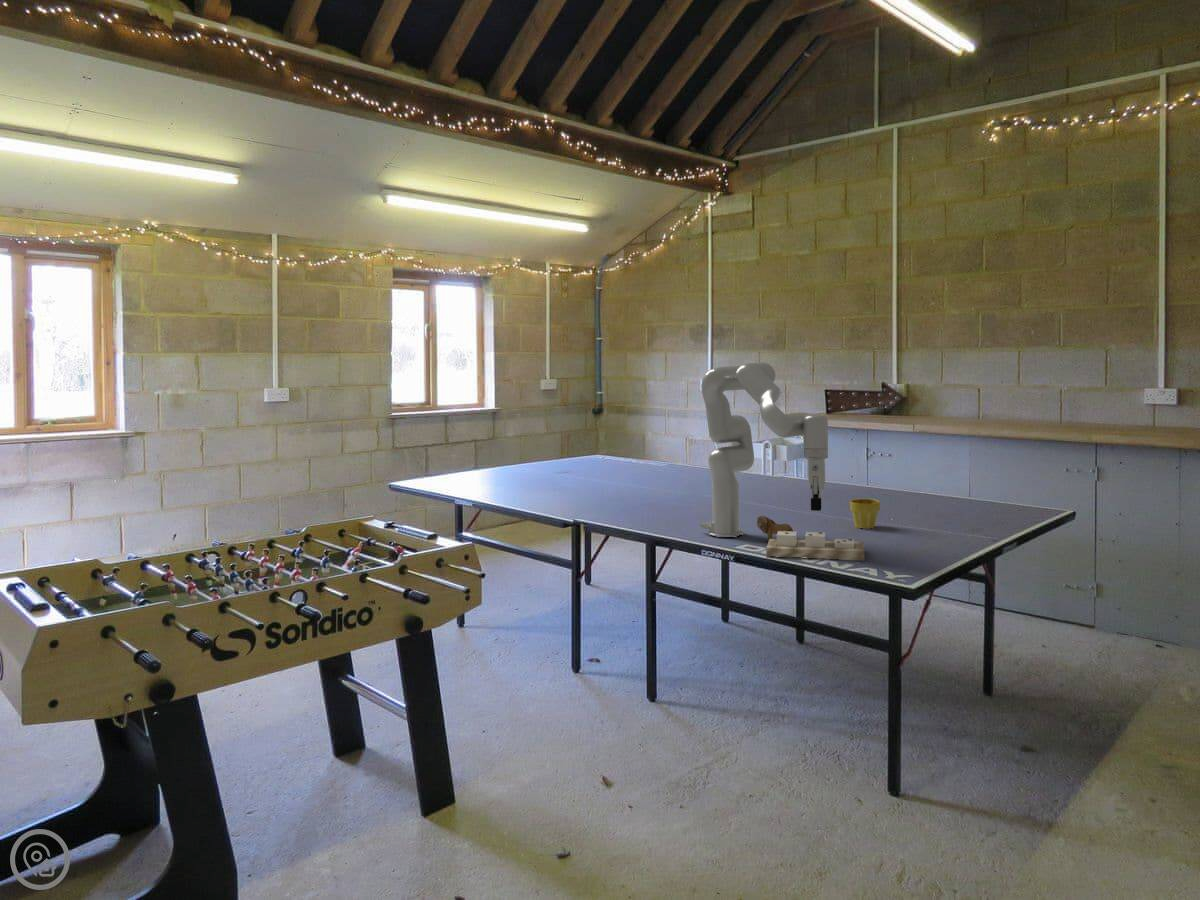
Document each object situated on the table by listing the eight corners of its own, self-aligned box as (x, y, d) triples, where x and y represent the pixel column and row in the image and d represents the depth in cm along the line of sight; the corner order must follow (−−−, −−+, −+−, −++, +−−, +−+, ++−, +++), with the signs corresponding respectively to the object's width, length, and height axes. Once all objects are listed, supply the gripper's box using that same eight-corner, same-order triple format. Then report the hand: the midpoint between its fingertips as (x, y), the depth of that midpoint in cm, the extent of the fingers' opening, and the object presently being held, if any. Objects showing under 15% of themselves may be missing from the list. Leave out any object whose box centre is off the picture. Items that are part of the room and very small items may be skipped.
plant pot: (857, 531, 310) (857, 504, 309) (845, 525, 320) (845, 499, 319) (884, 529, 311) (884, 502, 310) (871, 523, 321) (872, 497, 320)
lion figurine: (755, 542, 297) (754, 517, 296) (758, 539, 302) (758, 514, 301) (798, 545, 291) (798, 519, 290) (801, 542, 296) (801, 516, 295)
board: (766, 557, 277) (766, 547, 276) (769, 547, 289) (769, 538, 289) (864, 560, 269) (864, 551, 268) (863, 550, 281) (863, 541, 281)
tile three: (834, 555, 274) (834, 542, 274) (834, 550, 280) (834, 538, 279) (854, 556, 273) (854, 543, 272) (854, 551, 278) (854, 538, 278)
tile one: (776, 547, 279) (776, 534, 278) (778, 543, 285) (778, 530, 284) (795, 547, 277) (795, 535, 277) (796, 543, 283) (796, 531, 283)
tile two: (805, 548, 276) (805, 535, 276) (806, 543, 282) (806, 531, 282) (824, 548, 275) (824, 535, 274) (825, 544, 281) (825, 531, 280)
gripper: (827, 456, 267) (827, 514, 269) (828, 450, 281) (828, 506, 283) (802, 456, 269) (802, 514, 271) (804, 450, 283) (805, 505, 285)
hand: (816, 510), depth 277 cm, fingers closed
